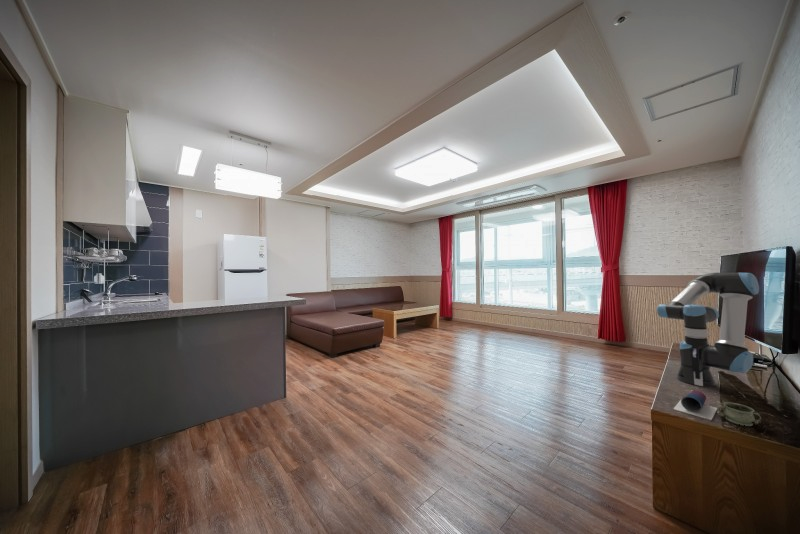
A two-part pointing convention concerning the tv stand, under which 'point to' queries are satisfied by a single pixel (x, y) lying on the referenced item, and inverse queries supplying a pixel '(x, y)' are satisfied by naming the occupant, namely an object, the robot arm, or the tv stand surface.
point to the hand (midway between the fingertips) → (698, 384)
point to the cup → (693, 401)
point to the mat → (705, 413)
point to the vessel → (739, 414)
